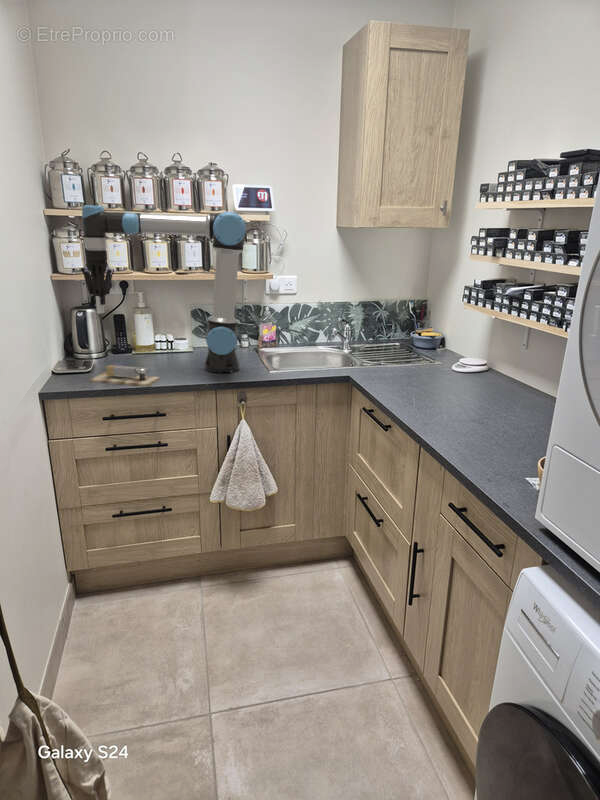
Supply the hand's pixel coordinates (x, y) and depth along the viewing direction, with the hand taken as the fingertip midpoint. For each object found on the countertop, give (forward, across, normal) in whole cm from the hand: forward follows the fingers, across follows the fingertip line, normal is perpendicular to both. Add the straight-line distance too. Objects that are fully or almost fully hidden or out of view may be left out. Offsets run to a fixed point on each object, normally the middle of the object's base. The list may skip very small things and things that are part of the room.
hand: (100, 312), depth 209 cm
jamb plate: (+26, -17, +1) cm, 31 cm away
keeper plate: (+26, -5, +1) cm, 26 cm away
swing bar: (+24, -11, +1) cm, 26 cm away
